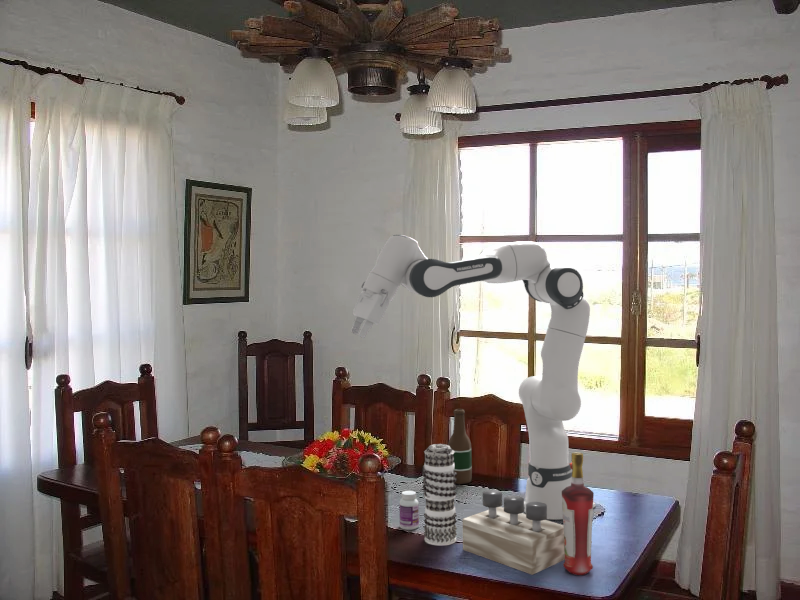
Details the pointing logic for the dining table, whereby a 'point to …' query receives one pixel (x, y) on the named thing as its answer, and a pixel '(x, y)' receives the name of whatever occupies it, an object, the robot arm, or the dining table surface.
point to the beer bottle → (461, 449)
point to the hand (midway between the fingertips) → (356, 335)
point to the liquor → (577, 520)
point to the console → (514, 541)
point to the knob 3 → (536, 514)
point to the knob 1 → (492, 501)
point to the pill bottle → (409, 511)
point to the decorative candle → (439, 495)
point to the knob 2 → (513, 507)
